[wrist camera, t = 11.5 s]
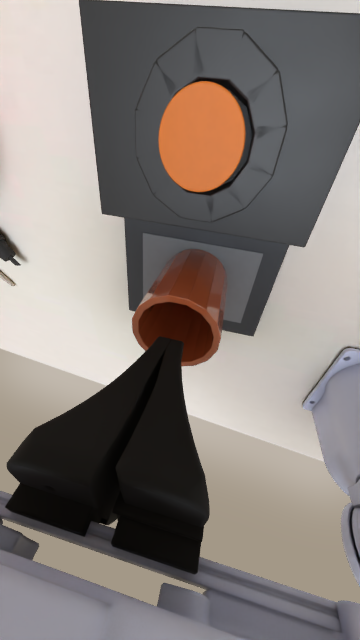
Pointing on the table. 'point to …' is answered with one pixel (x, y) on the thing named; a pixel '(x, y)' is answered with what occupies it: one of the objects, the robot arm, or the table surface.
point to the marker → (6, 251)
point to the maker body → (252, 96)
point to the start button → (201, 136)
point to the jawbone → (6, 279)
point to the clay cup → (185, 306)
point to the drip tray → (232, 251)
